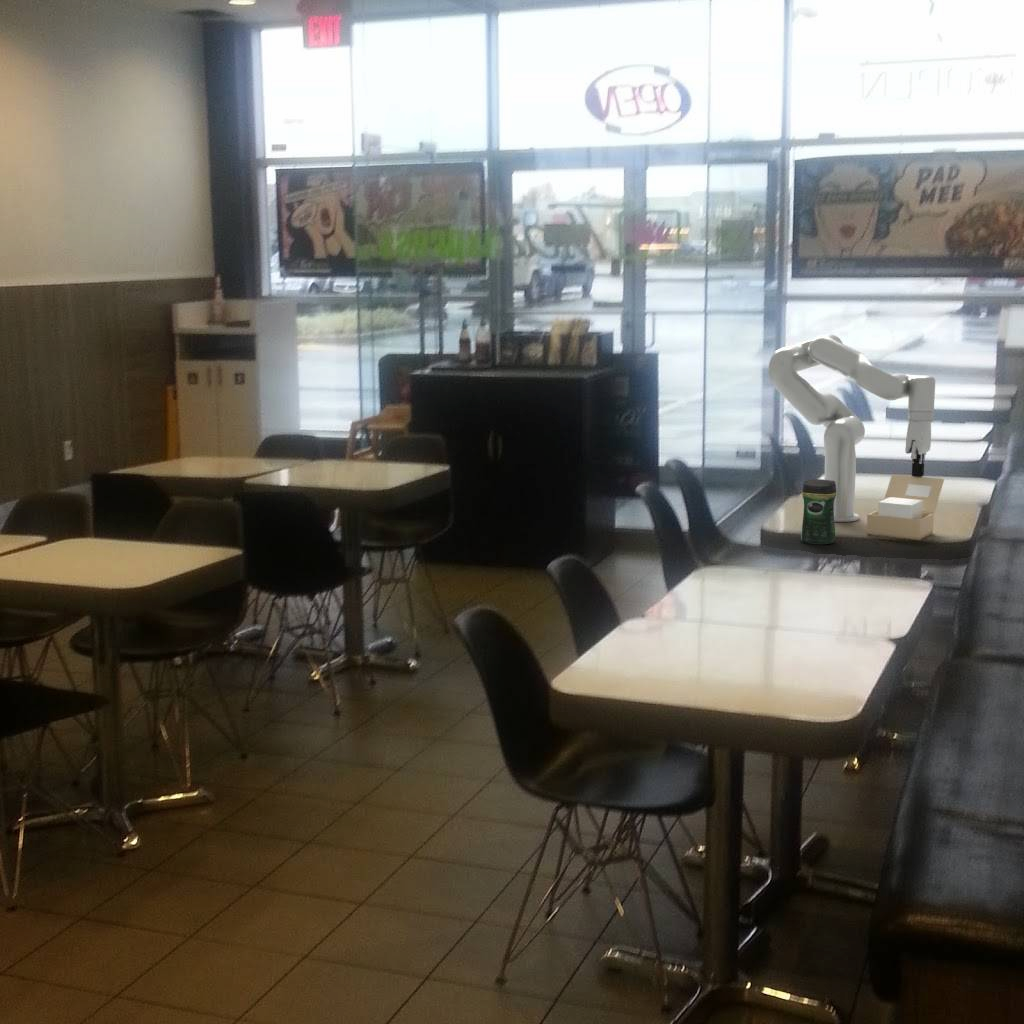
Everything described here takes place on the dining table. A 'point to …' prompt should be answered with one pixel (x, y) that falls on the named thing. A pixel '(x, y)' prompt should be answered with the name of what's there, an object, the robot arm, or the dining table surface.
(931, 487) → the lid
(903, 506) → the mailer box
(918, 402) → the robot arm
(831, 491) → the coffee jar
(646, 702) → the dining table surface
